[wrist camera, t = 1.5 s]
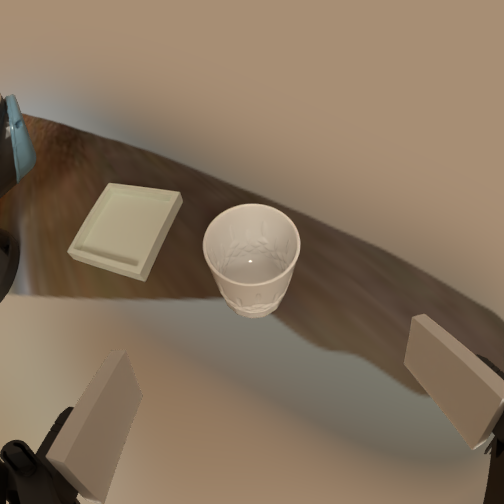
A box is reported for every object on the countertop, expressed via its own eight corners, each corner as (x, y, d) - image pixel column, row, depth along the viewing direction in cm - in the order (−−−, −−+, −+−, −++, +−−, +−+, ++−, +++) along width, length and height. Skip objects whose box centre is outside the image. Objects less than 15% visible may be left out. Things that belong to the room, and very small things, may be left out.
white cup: (223, 256, 34) (211, 201, 25) (290, 261, 33) (300, 206, 25) (213, 320, 30) (194, 281, 21) (287, 326, 29) (299, 289, 21)
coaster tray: (74, 259, 34) (67, 252, 32) (113, 191, 40) (108, 182, 39) (145, 281, 32) (139, 274, 31) (183, 201, 38) (179, 192, 37)
